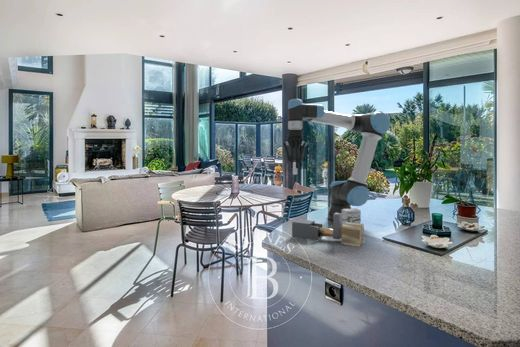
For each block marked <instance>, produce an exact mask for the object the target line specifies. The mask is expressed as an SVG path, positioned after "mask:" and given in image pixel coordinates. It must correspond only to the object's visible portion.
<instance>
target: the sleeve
mask: <svg viewBox="0 0 520 347" xmlns="http://www.w3.org/2000/svg"><path fill="white" fill-rule="evenodd" d="M318 227H322V228H323V223H318V222H316V221H315V220H311V219H310V220H309V219H301V218H300V219H299V218H297V219H295V220H293V221H292V222H291V237H292V238H295V239H296V238H297V239H304V240H310V241H311V240H312V241H317V240H318V241H319V240H320V239H322V238H323V236H318ZM321 237H322V238H321Z"/></svg>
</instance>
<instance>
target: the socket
mask: <svg viewBox="0 0 520 347" xmlns="http://www.w3.org/2000/svg"><path fill="white" fill-rule="evenodd" d="M364 225H365V224H364V223H360V224H359V223H350V222H346V223H345V224H343V225H342V239H341V245H343V244H344V245H345V246H351V247H352V246H353V247H359V248H360V247H361V246H362V245H363V243H364V236H365V235H364V231H365V230H364V227H365V226H364Z"/></svg>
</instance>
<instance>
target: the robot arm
mask: <svg viewBox="0 0 520 347" xmlns="http://www.w3.org/2000/svg"><path fill="white" fill-rule="evenodd" d="M303 121H305V122H312V123H317V124H323V125H329V126H333V127H339V128H344V129H346V130H347V131H352V132H356V133H359V134H360V135H361V136H362V139H361V142H360V146H359V149H358V153H357V156H356V158H355V162H354V166H353V169H352V172H351V176H350V177H349V178H347V180H335V181H332V182H331V184H330V207H329V210H328V214H327V219H328V220H331V221H333V214H335V213H342V209H352V206H353V207H361V206H363V205H365V204H366V203H367V202H368V200H369V197H370V192H369V189H368V186H369V184H368V183H367V180H368V176H369V173H370V170H371V166H372V162H373V160H374V156H375V152H376V149H377V146H378V144H379V141H380V140H381V139H383V135H384V133H387V132H388V131H389V129H390V128H391V120H390V118H389V115H387V114H386V113H385V112H382V111H374V112H369V113H362V114H354V113H351V114H343V113H339V112H335V111H334V112H333V111H328V110H325V107H324V105H323V104H321V103H320V104H319V103H304V102H303V99H301V98H291V99H290V100H288V103H287V129H288V130H287V141H285V142H284V143H283V147H284V148H285V153H286V157H287V161H289V162H290V163H291V164H290V165H291V168H292V175H294V176H296V175H298V169H299V168H300V162H302V161H303V160H304V155H305V151H306V147H307V146H308V142H305V141H304V139H303V138H304V137H303V130H302V129H303Z"/></svg>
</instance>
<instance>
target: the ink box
mask: <svg viewBox="0 0 520 347" xmlns="http://www.w3.org/2000/svg"><path fill="white" fill-rule="evenodd" d="M361 215H362V210H361V209H359V208H351V209H342V225H343V224H345V223H346V222H350V223H359V224H361V218H362V217H361Z"/></svg>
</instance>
